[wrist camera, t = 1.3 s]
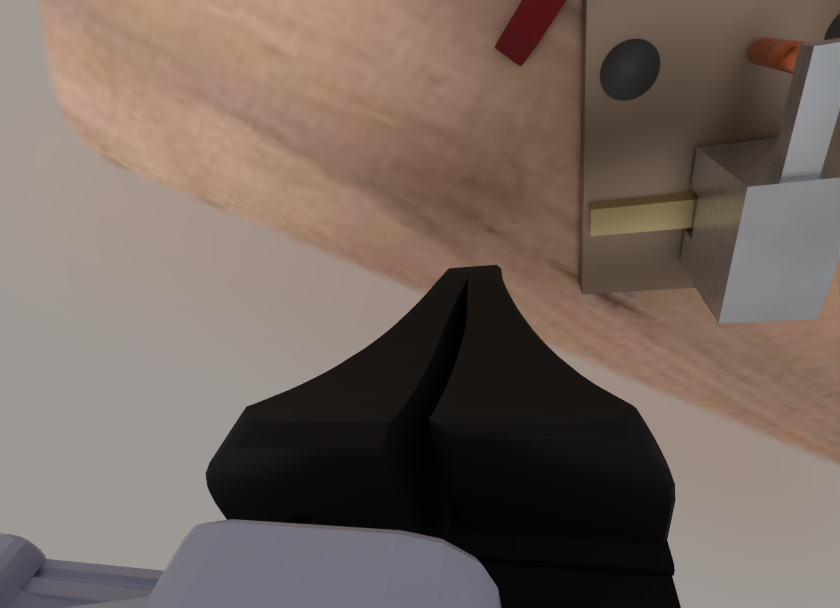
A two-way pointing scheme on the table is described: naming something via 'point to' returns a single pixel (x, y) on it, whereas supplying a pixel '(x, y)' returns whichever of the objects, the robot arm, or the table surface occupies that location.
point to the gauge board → (671, 120)
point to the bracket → (527, 28)
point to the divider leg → (772, 200)
